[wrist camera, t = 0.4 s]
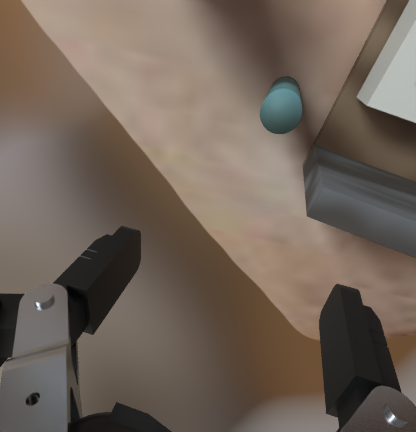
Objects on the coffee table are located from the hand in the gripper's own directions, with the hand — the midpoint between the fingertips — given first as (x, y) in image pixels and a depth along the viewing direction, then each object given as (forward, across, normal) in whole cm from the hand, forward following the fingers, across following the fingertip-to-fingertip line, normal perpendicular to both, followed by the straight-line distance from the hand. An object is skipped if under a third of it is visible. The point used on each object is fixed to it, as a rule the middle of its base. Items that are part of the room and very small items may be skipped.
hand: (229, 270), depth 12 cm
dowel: (+27, -1, -3) cm, 27 cm away
